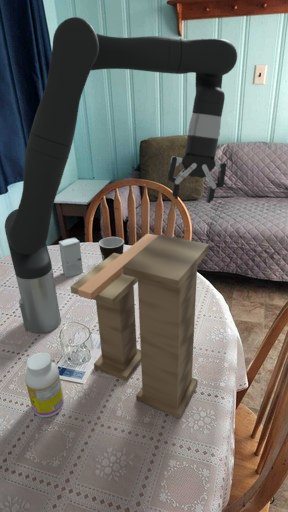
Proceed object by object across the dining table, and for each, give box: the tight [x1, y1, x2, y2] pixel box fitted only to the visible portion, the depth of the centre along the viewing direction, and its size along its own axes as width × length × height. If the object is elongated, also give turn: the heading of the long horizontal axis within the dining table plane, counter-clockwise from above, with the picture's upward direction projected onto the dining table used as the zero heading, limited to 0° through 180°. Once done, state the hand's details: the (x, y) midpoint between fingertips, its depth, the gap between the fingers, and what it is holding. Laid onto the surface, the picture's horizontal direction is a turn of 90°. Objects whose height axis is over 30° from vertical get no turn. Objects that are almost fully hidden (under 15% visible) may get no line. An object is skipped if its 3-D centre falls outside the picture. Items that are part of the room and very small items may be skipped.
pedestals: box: [70, 234, 210, 420], centre depth 75 cm, size 18×24×34 cm
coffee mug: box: [98, 236, 125, 262], centre depth 127 cm, size 12×9×10 cm
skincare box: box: [58, 237, 84, 278], centre depth 123 cm, size 6×4×12 cm
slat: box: [77, 233, 159, 301], centre depth 78 cm, size 28×3×2 cm, turn 152°
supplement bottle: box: [24, 352, 65, 418], centre depth 73 cm, size 7×7×13 cm
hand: (191, 200), depth 93 cm, fingers open, 8 cm apart
